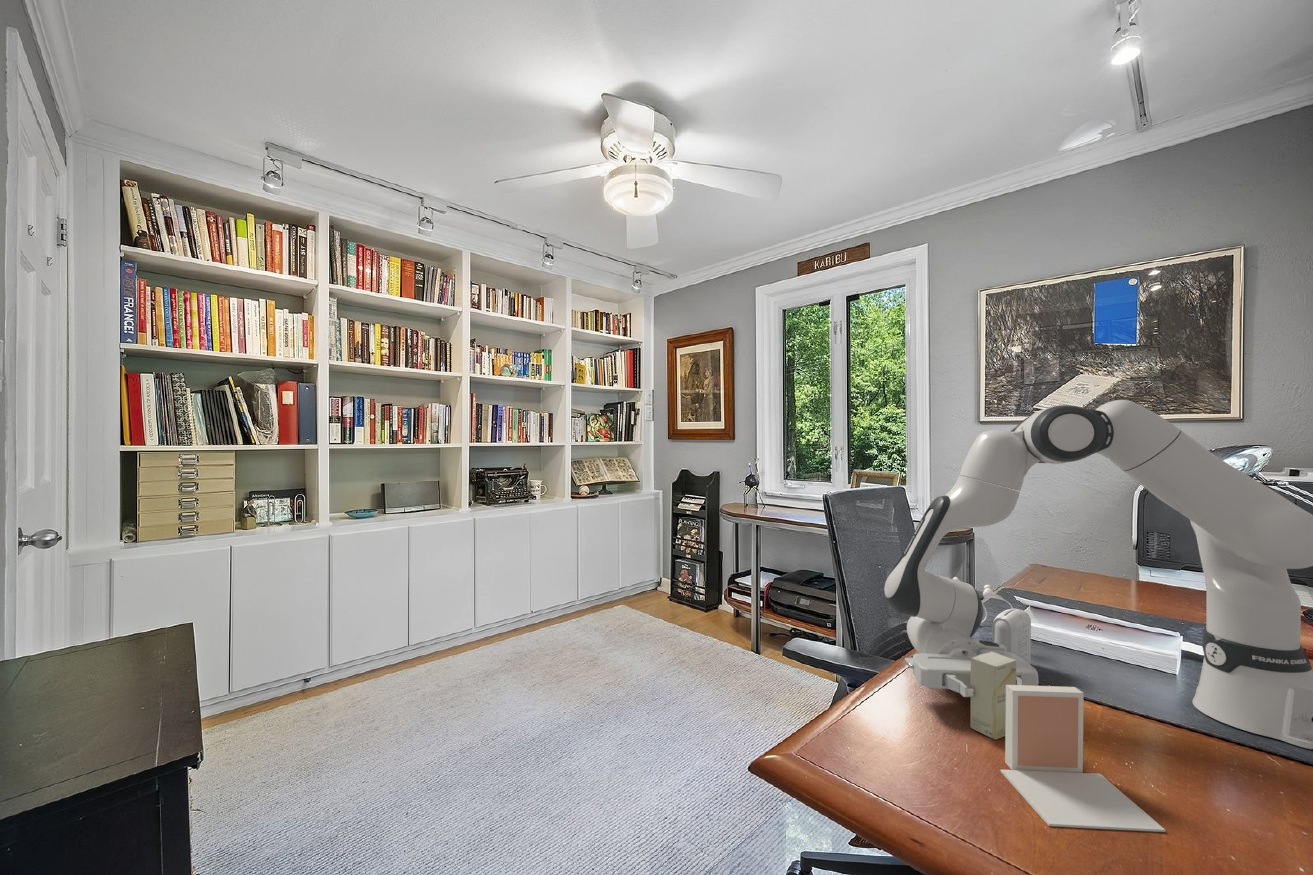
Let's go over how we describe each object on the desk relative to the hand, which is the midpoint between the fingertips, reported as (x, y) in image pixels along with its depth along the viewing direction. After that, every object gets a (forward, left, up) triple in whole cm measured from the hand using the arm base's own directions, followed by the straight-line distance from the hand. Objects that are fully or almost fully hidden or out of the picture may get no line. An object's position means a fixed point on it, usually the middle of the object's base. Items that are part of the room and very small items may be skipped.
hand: (996, 693), depth 90 cm
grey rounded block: (-17, -26, -7) cm, 32 cm away
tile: (-2, +9, -7) cm, 11 cm away
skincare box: (0, -1, -7) cm, 7 cm away
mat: (-2, +16, -7) cm, 17 cm away
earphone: (-19, -43, -7) cm, 47 cm away
